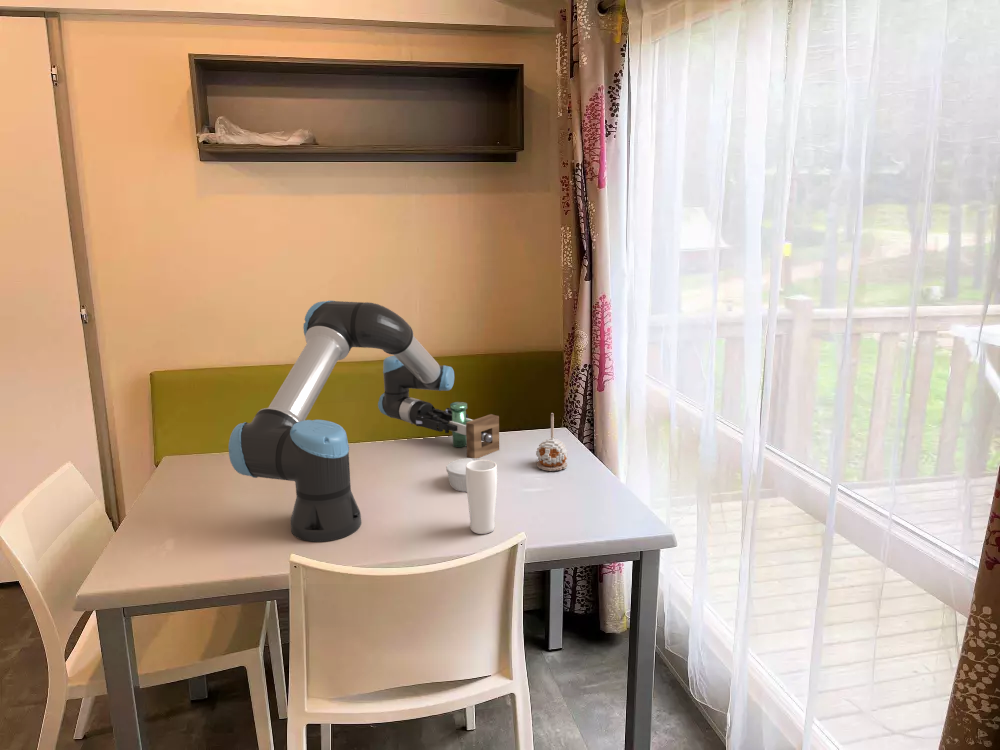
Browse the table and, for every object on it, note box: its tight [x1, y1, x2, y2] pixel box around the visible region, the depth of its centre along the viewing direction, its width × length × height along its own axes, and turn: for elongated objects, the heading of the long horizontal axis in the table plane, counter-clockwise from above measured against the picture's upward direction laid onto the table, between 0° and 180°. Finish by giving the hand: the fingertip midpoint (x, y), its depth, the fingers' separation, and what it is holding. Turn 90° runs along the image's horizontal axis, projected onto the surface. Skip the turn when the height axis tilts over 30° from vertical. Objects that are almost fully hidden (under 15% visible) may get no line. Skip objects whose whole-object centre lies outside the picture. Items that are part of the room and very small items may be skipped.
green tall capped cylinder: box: [449, 401, 493, 448], centre depth 207 cm, size 15×5×12 cm, turn 47°
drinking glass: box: [466, 459, 498, 535], centre depth 158 cm, size 7×7×15 cm
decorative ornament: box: [535, 412, 568, 472], centre depth 193 cm, size 8×8×15 cm
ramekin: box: [445, 457, 482, 493], centre depth 183 cm, size 11×11×5 cm
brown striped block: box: [466, 413, 500, 459], centre depth 204 cm, size 3×10×10 cm, turn 137°
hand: (472, 428), depth 207 cm, fingers closed on green tall capped cylinder, 4 cm apart
